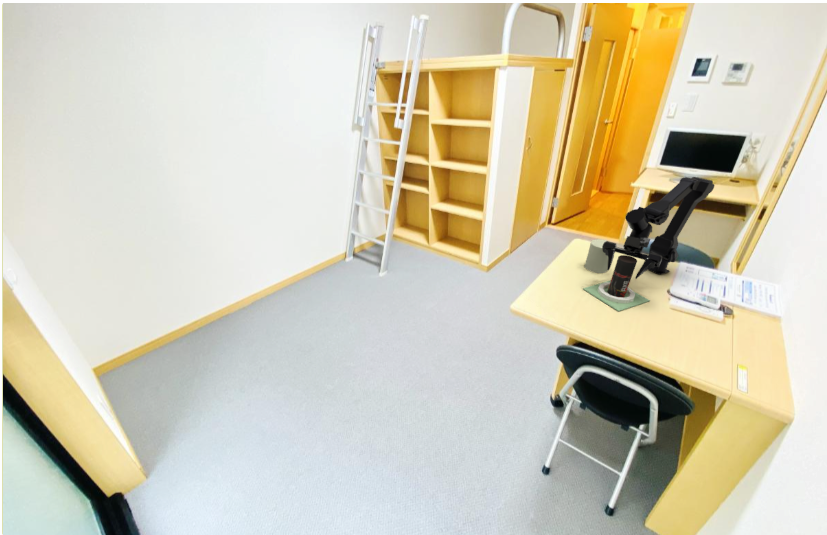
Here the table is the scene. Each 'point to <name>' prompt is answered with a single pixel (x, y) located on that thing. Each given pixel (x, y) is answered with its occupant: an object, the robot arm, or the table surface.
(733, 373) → the table surface
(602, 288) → the putting mat
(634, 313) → the table surface
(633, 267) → the deodorant
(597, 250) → the can
